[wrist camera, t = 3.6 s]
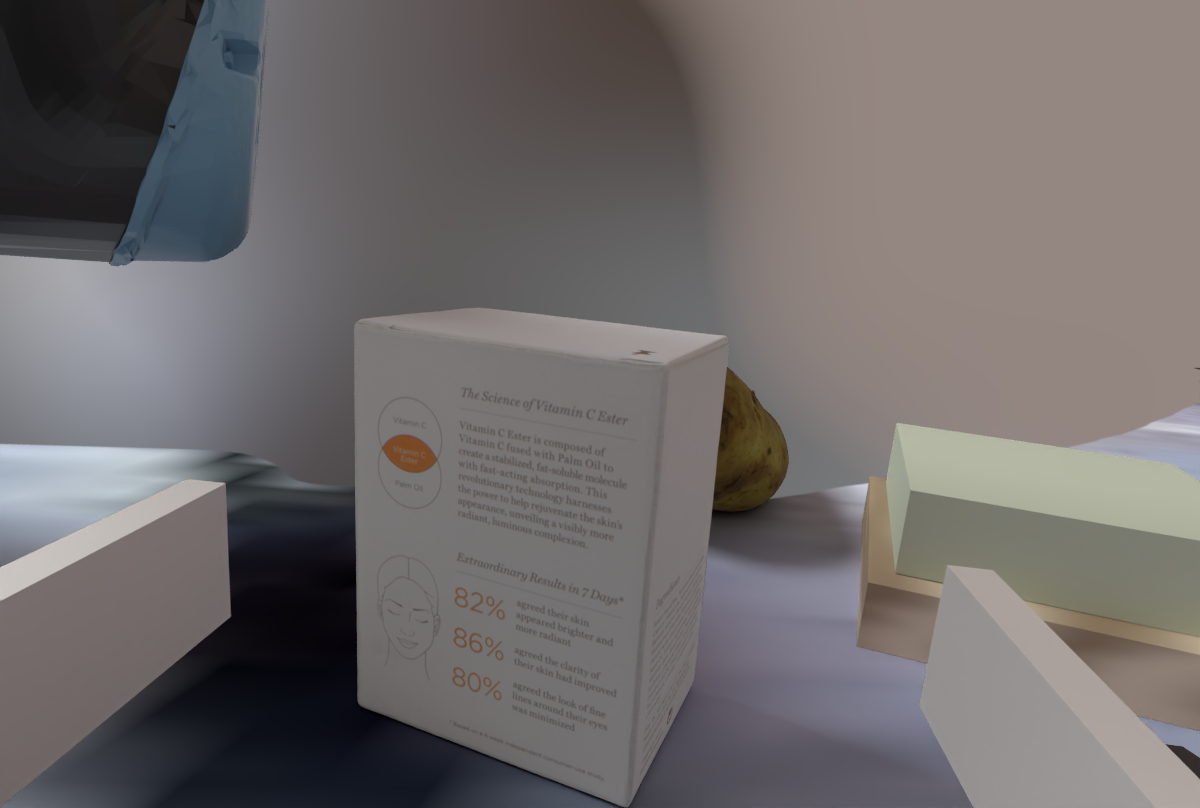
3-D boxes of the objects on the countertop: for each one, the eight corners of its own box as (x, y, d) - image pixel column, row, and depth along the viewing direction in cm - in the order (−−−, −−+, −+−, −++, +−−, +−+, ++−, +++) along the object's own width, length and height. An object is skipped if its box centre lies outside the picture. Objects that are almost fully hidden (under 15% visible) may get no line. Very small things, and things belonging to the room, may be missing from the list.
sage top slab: (895, 573, 24) (910, 490, 24) (885, 482, 35) (896, 422, 34) (1294, 657, 21) (1325, 562, 20) (1154, 529, 31) (1172, 463, 30)
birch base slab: (853, 663, 24) (867, 582, 24) (860, 532, 36) (869, 475, 36) (1340, 787, 20) (1373, 692, 19) (1165, 592, 32) (1183, 529, 31)
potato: (848, 511, 37) (873, 359, 35) (671, 564, 29) (691, 372, 27) (728, 465, 43) (744, 335, 42) (554, 499, 36) (565, 340, 34)
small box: (696, 688, 21) (739, 335, 19) (628, 820, 16) (676, 359, 14) (467, 616, 24) (480, 303, 22) (349, 708, 19) (349, 313, 17)
